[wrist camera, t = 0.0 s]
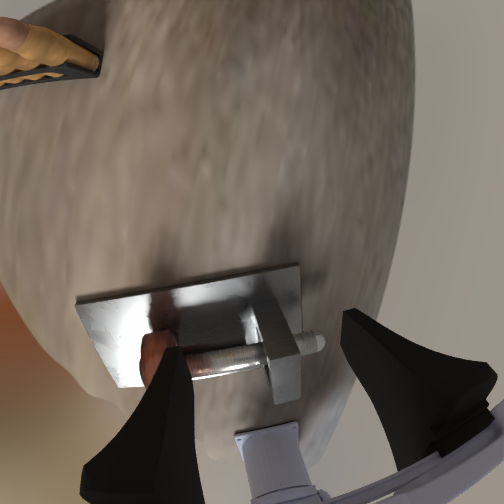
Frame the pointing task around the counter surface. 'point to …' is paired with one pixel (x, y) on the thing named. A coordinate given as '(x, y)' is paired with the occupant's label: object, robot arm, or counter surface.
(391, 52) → the counter surface
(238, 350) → the hammer
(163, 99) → the counter surface
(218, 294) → the eye bracket
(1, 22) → the ammunition clip
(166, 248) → the counter surface
